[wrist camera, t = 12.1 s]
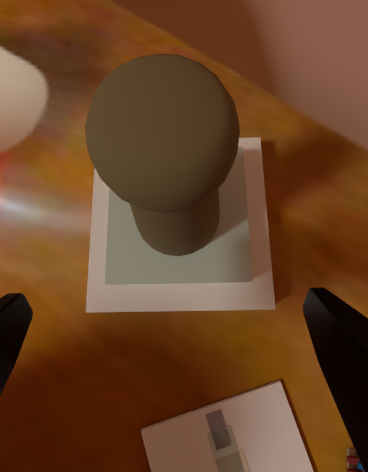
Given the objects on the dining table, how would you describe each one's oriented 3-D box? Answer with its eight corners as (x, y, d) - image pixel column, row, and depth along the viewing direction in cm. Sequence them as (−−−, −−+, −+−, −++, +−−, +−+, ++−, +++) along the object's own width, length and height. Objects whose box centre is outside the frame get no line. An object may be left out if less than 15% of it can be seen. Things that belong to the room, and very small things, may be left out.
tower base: (267, 307, 20) (285, 312, 16) (95, 310, 21) (73, 315, 17) (254, 150, 23) (267, 122, 19) (104, 154, 23) (86, 127, 19)
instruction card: (324, 504, 17) (327, 508, 17) (174, 560, 17) (174, 566, 17) (279, 380, 19) (280, 381, 19) (141, 428, 19) (140, 431, 18)
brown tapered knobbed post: (202, 164, 19) (219, -6, 8) (232, 239, 17) (301, 161, 7) (125, 190, 18) (32, 51, 8) (149, 268, 17) (81, 236, 6)
